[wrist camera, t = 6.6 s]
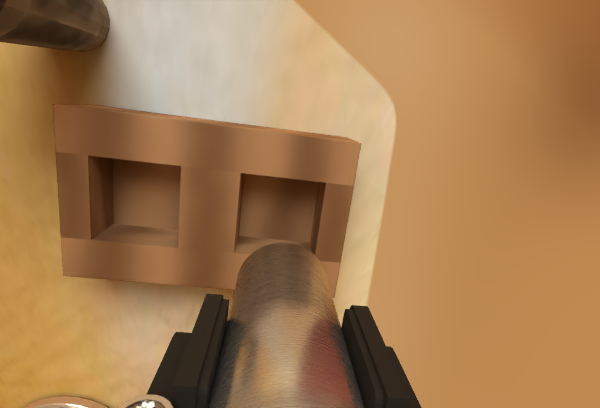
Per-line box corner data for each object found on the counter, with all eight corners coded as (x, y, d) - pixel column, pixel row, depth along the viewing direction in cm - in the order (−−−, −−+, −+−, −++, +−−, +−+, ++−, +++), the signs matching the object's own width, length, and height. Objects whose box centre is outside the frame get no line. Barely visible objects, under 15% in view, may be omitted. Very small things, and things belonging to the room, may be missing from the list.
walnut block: (346, 137, 28) (361, 143, 23) (325, 268, 31) (334, 297, 26) (94, 105, 26) (52, 104, 21) (98, 248, 29) (63, 275, 24)
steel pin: (319, 325, 16) (431, 902, 4) (233, 319, 16) (106, 935, 4) (332, 247, 15) (525, 734, 3) (240, 238, 14) (96, 755, 3)
